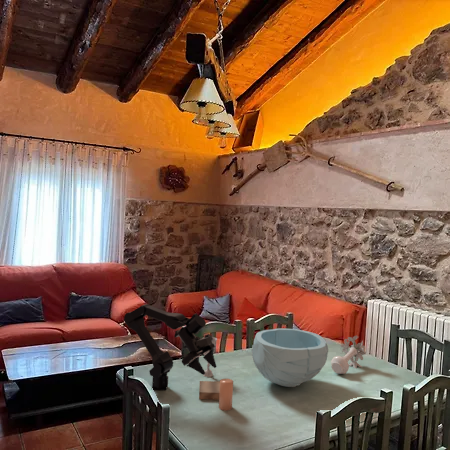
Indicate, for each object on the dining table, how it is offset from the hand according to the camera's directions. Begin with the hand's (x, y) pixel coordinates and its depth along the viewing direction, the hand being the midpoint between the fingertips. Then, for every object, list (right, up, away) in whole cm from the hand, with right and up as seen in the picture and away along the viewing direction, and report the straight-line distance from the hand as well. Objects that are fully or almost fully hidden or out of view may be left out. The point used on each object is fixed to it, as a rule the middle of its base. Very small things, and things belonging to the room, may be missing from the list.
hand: (210, 370), depth 182 cm
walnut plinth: (+1, -13, +9) cm, 16 cm away
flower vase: (+71, -15, +47) cm, 86 cm away
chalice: (-2, -12, +30) cm, 33 cm away
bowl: (+36, -14, +24) cm, 46 cm away
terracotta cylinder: (+6, -14, -3) cm, 16 cm away
